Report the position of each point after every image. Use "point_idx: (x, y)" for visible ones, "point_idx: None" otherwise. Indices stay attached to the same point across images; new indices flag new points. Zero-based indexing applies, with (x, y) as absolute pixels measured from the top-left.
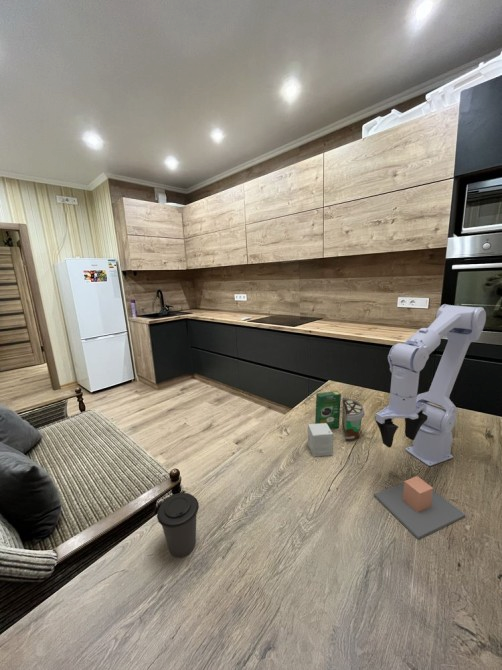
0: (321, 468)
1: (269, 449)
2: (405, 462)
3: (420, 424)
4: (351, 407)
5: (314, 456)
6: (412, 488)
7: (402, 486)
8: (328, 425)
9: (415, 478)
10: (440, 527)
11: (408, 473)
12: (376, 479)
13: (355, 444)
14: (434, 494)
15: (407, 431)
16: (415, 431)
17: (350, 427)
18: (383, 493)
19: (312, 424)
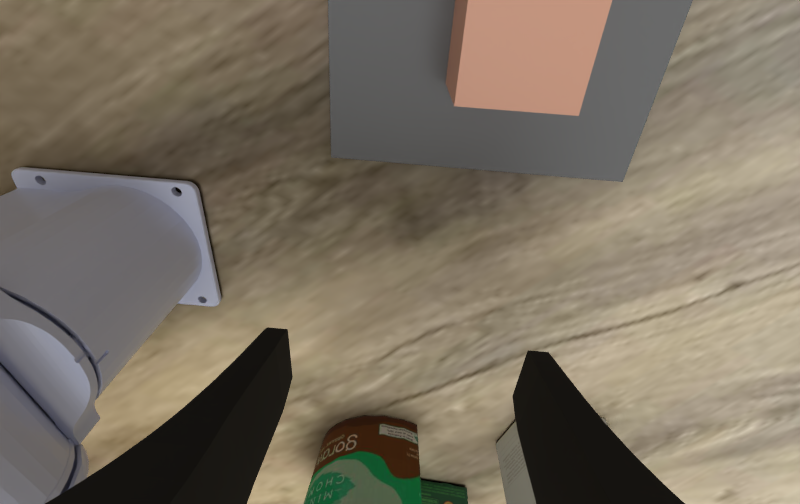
0: (638, 370)
1: (695, 491)
2: (286, 250)
3: (145, 477)
4: None
5: (601, 418)
6: (597, 39)
7: (456, 150)
8: (426, 501)
9: (489, 95)
10: None
11: (335, 198)
12: (505, 239)
13: (397, 399)
14: (353, 25)
15: (272, 412)
16: (240, 398)
17: (403, 486)
18: (581, 162)
19: None
